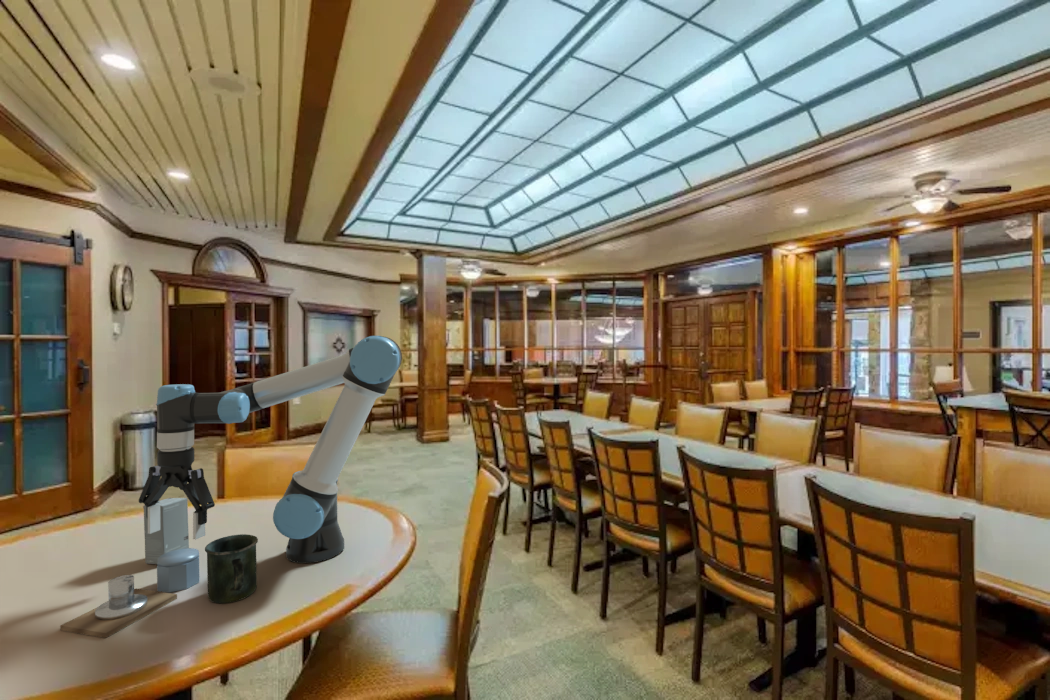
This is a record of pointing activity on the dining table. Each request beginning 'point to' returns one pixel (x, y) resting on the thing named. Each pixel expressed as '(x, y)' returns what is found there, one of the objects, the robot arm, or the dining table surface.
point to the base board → (108, 627)
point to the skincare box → (167, 529)
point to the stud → (121, 599)
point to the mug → (231, 568)
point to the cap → (178, 570)
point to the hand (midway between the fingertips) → (176, 534)
